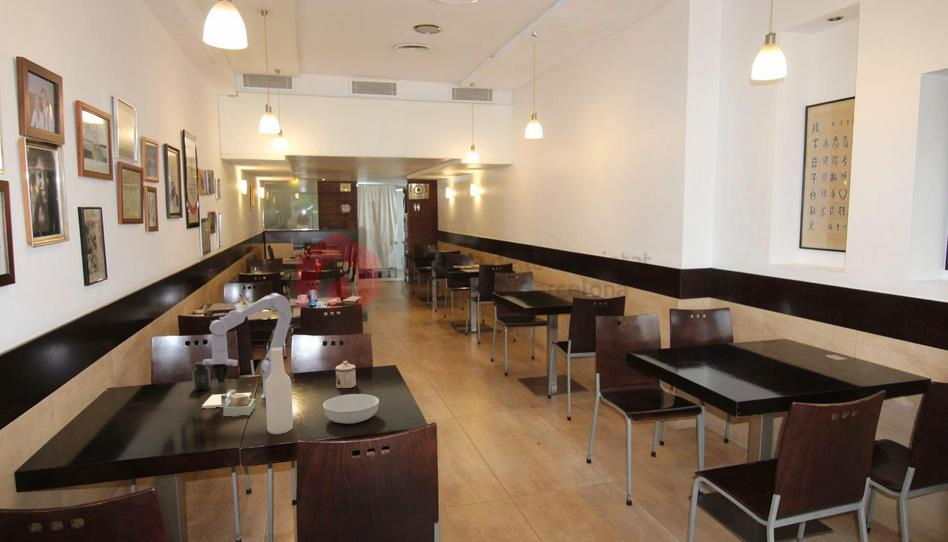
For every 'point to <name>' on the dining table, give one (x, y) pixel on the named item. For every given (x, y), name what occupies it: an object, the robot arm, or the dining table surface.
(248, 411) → the tray
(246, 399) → the block
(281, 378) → the alcohol
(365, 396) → the serving bowl
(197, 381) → the supplement bottle
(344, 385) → the teacup with lid
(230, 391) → the crank arm
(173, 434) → the dining table surface
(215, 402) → the crank board
